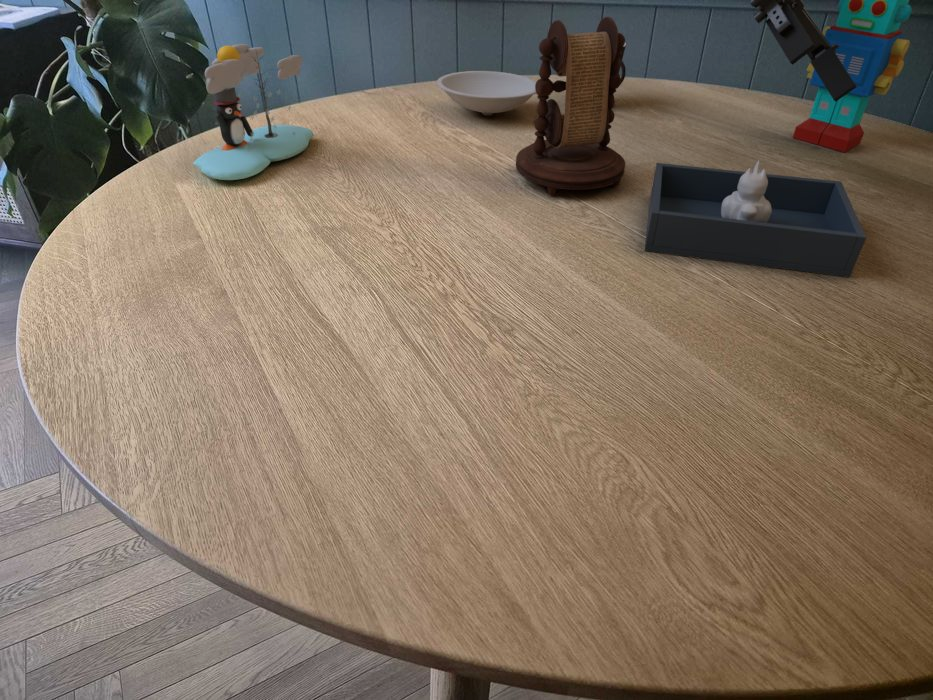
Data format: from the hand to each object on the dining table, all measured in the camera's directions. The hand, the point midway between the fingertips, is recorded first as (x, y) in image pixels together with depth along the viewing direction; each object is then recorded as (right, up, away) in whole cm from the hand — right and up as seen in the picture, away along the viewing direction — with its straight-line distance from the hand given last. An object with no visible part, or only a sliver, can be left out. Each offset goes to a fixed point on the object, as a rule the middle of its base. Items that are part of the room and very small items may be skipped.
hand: (825, 75), depth 78 cm
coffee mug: (-20, +10, +37) cm, 44 cm away
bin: (-10, -19, 0) cm, 21 cm away
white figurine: (-10, -18, 0) cm, 21 cm away
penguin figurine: (-73, -5, +18) cm, 75 cm away
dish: (-39, +7, +34) cm, 52 cm away
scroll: (-29, -9, +13) cm, 33 cm away
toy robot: (+14, 0, +25) cm, 28 cm away
